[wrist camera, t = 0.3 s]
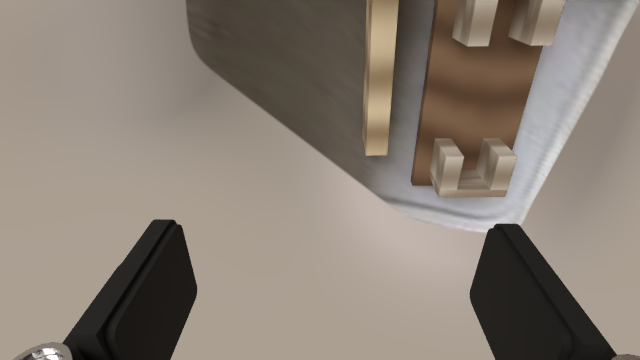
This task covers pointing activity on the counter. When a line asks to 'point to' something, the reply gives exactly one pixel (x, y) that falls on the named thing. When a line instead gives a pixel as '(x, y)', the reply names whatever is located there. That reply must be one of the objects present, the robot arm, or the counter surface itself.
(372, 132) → the slat
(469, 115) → the board
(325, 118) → the counter surface
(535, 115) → the counter surface
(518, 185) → the counter surface
